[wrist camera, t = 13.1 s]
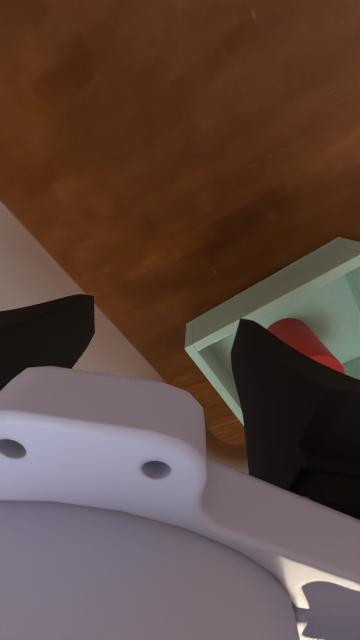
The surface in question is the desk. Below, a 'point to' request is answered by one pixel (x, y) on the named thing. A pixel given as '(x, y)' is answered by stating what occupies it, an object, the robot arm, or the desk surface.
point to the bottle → (304, 341)
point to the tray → (286, 313)
